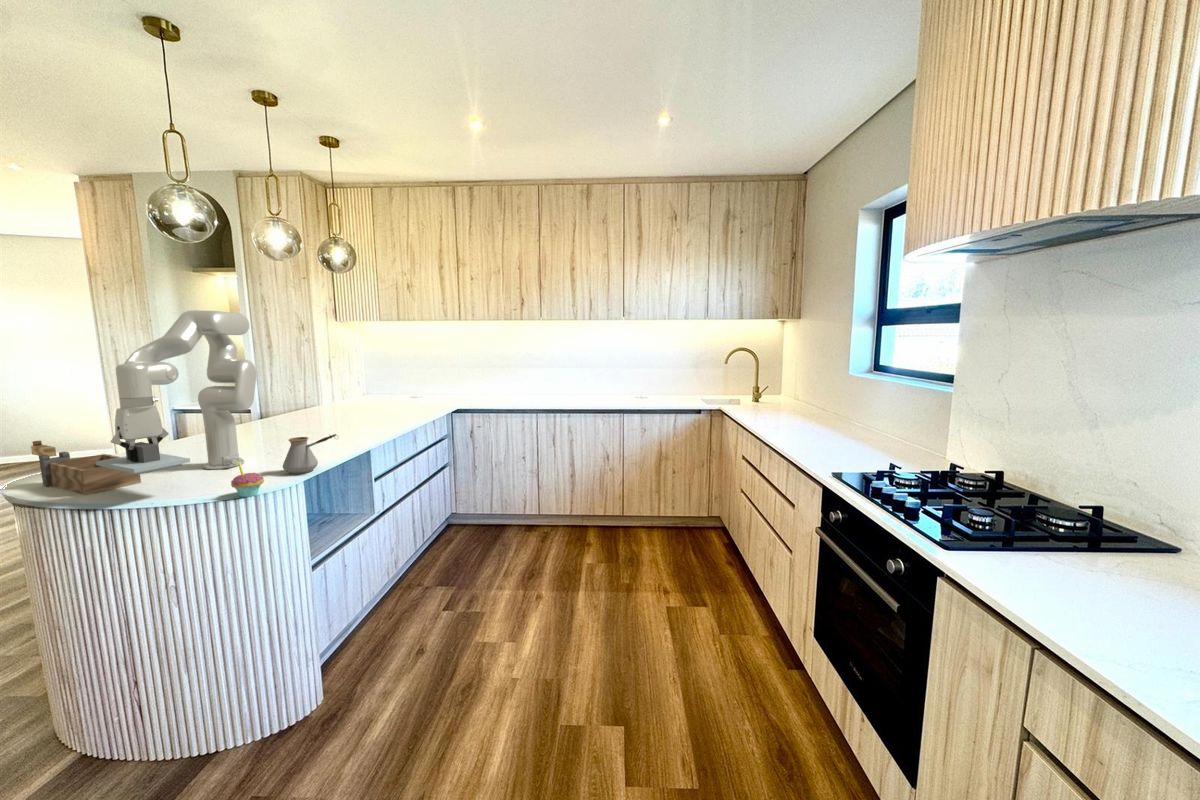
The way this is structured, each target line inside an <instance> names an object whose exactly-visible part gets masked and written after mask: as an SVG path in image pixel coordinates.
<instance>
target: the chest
mask: <svg viewBox="0 0 1200 800" xmlns="http://www.w3.org/2000/svg"><path fill="white" fill-rule="evenodd" d="M58 455H59V456H57V457H55V456H54V457H50V456H49V455H40V456H38V460H39V465H40V474H41V479H42V486H43V487H45V486H47V487H46V488H50V487H49V486H51V487H53V486H55V487H54V488H57V487H58V489H61V488H62V490H66V491H69V492H73V493H77V494H81V495H83V496H88V495H91V494H95V493H101V492H104V491H110V490H114V489H119V488H124V487H129V486H132V485H133V486H134V485H137V484H141V483H142V480H141V474H134V473H129V472H124V471H119V470H115V469H110V468H105V467H103V466H98V465H96V461H101V460H107V459H113V458H119V457H120V456H118V455H112V454H106V453H102V454H96V455H91V456H84V457H79V458H74V459H72V458H71V456H70V452H69V451H60V452H58Z"/></svg>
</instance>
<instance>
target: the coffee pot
mask: <svg viewBox="0 0 1200 800" xmlns="http://www.w3.org/2000/svg"><path fill="white" fill-rule="evenodd" d="M336 436H337V439H339V435H338V434H336V433H334V434H332V435H328V436H326V437H323V438H321V439H319V440H317V441H315V442H312V443H310V444H308V440H309V436H308V437H307V436H298V437H291V438H289V439H288V442H289V443H290V446H289V448H288V451H287V453H286V456H285V459H284V461H283V465H282V468H283V470H284V471H285V472H287V473H289V474H290V473H292V474H291V475H303V474H304V475H305V474H308V473H311V472H313V471H314V469H316V468H317V467H318V464H319V461H318V459H317V457H316V455H314V453H313V451H312V449H311V447H312V446H314V445H318V444H320V443H323V442H327V441H328V440H330V439H332V438H334V439H336Z"/></svg>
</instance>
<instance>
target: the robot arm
mask: <svg viewBox="0 0 1200 800" xmlns="http://www.w3.org/2000/svg"><path fill="white" fill-rule="evenodd" d="M249 329H250V322H249V319H248V318H247V317H246V316H245V315H244V314H242V313H237V312H227V311H220V310H197V309H196V310H187V311H185V312H184V311H183V313H181V314H180V315H179V317H178V318H177V319H176V321H175V322H173V324H172V325H171V327H170V328H169V329H167V331H166V332H165V334H164V335H162V336H161V337H159V338H156V339H155V340H153V341H150V342H148V343H147V344H145V345H143V346H141V347H139V348H138V349H136V350H134V351H133V352H132V353H131V354H130V355H129V356H128V357H127V359H125V361H124V363H121V364H118V365H116V367H115V376H116V382H117V383H116V384H117V385H116V386H117V393H118V399H119V400H118V401H119V408H116V410H115V416H114V417H115V419H114V432H115V434H114V435H113V437H112V438H111V440H110V443H111V444H114V445H118V446H120V447H122V448H124V449H125V450H126V449H127V454H128V459H129V460H130V461H132V462H137V461H138V458H137V450H136V449H135V447H134V446H135V443H136V440H140V439H147V443H150V444H156V445H159V444H160V442H162V440H163V439H165V438H166V437H167V436H169V432H168V431H167V430H166V429H165V428H164V427H163V424H162V419H161V415H160V413H159V409H158V408H157V405H155V403H156V402H159V398H158V397H154V396H153V390H152V388H153V387H152V385H153V386H162V385H164V386H166V385H170V384H173V383H174V382H175V381H177V379H178V378H179V374H180V373H179V370H178V368H177V367H176V365H173V364H171V363H170V362H166V361H164V360H168V359H171V358H175V357H179V356H182V355H185V354H188V353H190V352H191V351H193V349H194V348H195V346H196V345H197V343H198V342H200V340H201V338H202V337H203V336H204V338H205V339H206V341H207V344H208V347H209V350H208V351H209V353H208V360H207V367H206V377H207V379H208V380H209V381H210V382H212V383H216V384H234V386H233V385H213V386H212V385H211V386H207V387H204V388H203V389H201V390H200V391H199V392H198V395H197V401H198V406H199V407H200V410H201V412H202V417H203V418H202V419H203V425H204V434H205V435H204V437H205V443H206V444H205V445H206V452H207V453H206V454H207V462H206V463H204V464H203V469H206V470H222V469H229V468H234V467H239V465H238V463H239V462H240V463H241V465H243V464H244V463H245V460H244V459H243V458H242V457H240V455H239V447H238V436H237V435H238V434H237V428H236V426H237V423H236V419H235V417H234V415H233V414H232V413H231V411H245V410H249V409H250V408H251V407H252V406H253V403H254V400H255V399H254V398H255V391H256V382H257V368H256V366H255V365H254V363H253V362H252V361H250V360H248V359H245V358H239V359H238V358H237V353H238V351H237V350H238V348H237V345H236V344H235V342H234V341H233V340H232V338H231V337H229V336H243V335H244V334H246V333H247V332H248V331H249ZM122 440H124V441H122ZM237 460H238V461H239V462H238V461H237Z"/></svg>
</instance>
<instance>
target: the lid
mask: <svg viewBox="0 0 1200 800" xmlns="http://www.w3.org/2000/svg"><path fill="white" fill-rule="evenodd" d="M159 446H160V445H159V444H158V445H156V444H150V443H149V442H143V441H140V442H135V446H134V447H135V449H136V450H137V458H138V461H137V462H132V461H130V460H129V459H128V454H127V449H125V456H118V457H119V458H113V459H107V460H101V461H96V465H98V466H103V467H105V468H110V469H115V470H119V471H124V472H129V473H134V474H140V475H143V474H144V475H145V474H148V473H153V472H158V471H162V470H167V469H173V468H178V467H182V466H183V465H184V464H187V463H191V458H190V457H182V456H176V455H174V454H173V455H172V454H166V453H161V452H160V449H159Z"/></svg>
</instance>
